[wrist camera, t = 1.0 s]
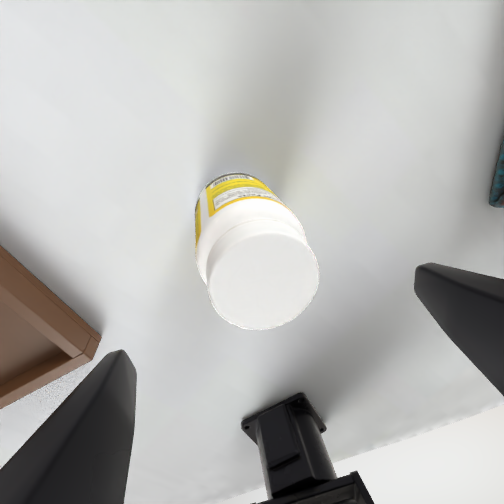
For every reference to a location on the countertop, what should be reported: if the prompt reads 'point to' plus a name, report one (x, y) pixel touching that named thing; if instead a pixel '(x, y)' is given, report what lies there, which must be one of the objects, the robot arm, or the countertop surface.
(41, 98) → the countertop surface
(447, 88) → the countertop surface
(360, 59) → the countertop surface
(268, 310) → the supplement bottle
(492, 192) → the dish towel
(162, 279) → the countertop surface
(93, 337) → the tray
